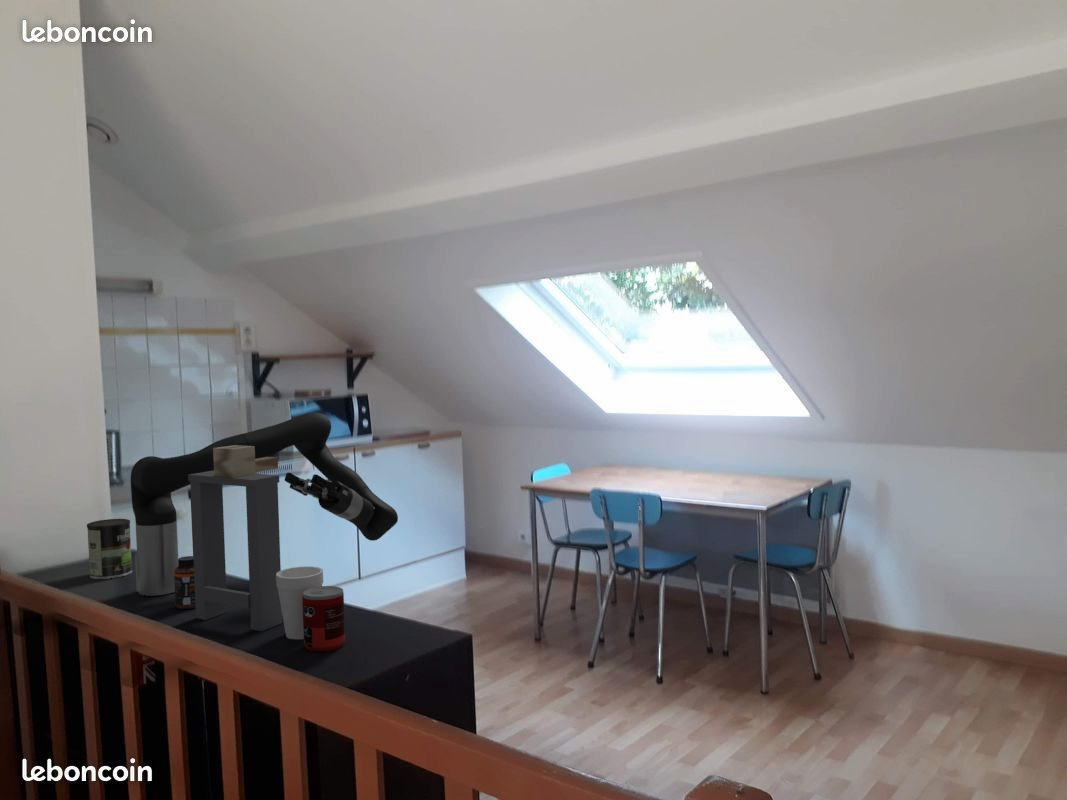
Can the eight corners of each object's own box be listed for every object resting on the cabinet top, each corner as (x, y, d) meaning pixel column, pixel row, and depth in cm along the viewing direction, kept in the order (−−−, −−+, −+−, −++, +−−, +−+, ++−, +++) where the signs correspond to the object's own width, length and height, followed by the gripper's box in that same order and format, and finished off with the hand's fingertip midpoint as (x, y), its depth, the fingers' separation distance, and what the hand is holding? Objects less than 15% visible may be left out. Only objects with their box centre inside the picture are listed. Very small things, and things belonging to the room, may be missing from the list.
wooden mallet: (214, 475, 180) (213, 448, 180) (263, 467, 192) (262, 441, 192) (233, 477, 177) (232, 449, 177) (282, 468, 190) (281, 442, 189)
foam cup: (282, 644, 167) (280, 580, 166) (274, 631, 175) (271, 570, 174) (330, 636, 171) (328, 574, 171) (319, 624, 180) (317, 564, 179)
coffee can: (139, 569, 229) (137, 518, 228) (120, 579, 218) (118, 526, 218) (102, 569, 229) (99, 518, 228) (81, 580, 218) (78, 526, 218)
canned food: (307, 639, 170) (305, 586, 169) (347, 638, 171) (346, 584, 170) (300, 653, 162) (298, 597, 162) (342, 651, 163) (340, 595, 162)
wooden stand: (194, 618, 185) (188, 474, 183) (219, 609, 191) (214, 470, 189) (259, 632, 175) (253, 480, 173) (284, 622, 181) (279, 475, 179)
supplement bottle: (193, 610, 191) (191, 561, 190) (169, 609, 192) (167, 560, 191) (208, 602, 197) (206, 555, 196) (185, 601, 198) (183, 554, 197)
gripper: (324, 485, 216) (282, 461, 203) (367, 488, 209) (327, 463, 197) (315, 512, 213) (272, 490, 200) (358, 517, 207) (317, 494, 194)
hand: (299, 477), depth 199 cm, fingers open, 8 cm apart
